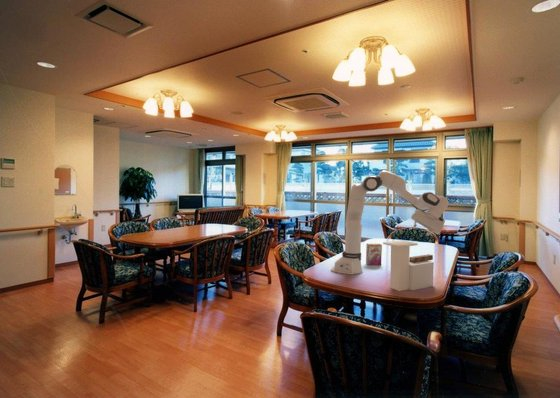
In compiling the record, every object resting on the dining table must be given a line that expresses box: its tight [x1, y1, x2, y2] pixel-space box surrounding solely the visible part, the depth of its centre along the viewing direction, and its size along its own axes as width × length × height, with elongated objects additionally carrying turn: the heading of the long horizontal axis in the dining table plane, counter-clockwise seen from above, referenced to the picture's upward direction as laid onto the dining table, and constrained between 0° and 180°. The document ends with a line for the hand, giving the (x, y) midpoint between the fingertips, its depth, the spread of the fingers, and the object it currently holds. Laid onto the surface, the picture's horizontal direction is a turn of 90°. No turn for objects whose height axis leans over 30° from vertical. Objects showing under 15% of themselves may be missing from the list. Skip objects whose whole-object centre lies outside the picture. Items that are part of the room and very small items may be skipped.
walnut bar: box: [409, 253, 434, 263], centre depth 202 cm, size 18×3×3 cm, turn 118°
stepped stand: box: [382, 240, 435, 292], centre depth 197 cm, size 31×12×28 cm, turn 118°
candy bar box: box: [365, 242, 383, 266], centre depth 253 cm, size 11×5×16 cm, turn 92°
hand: (420, 230), depth 211 cm, fingers open, 8 cm apart
